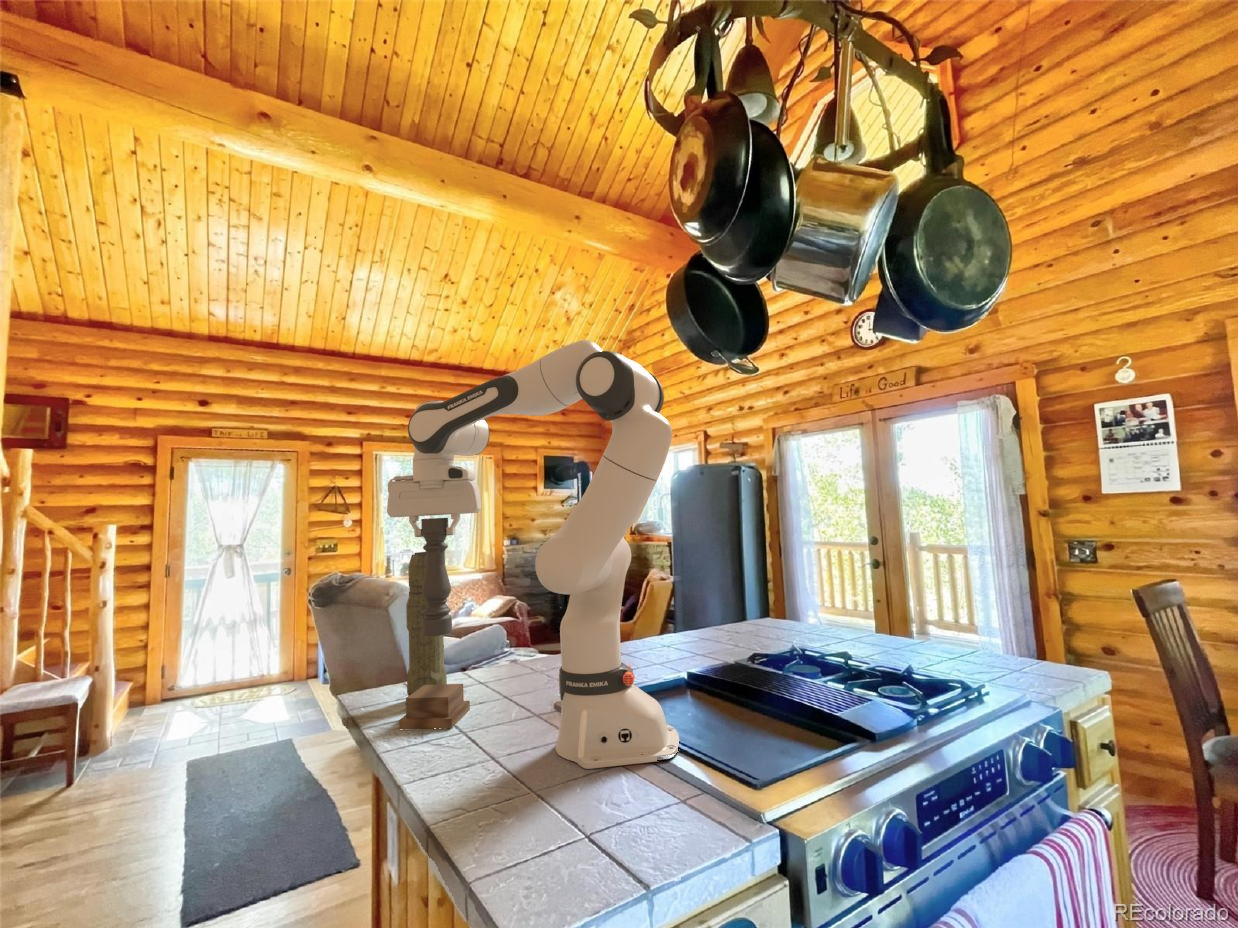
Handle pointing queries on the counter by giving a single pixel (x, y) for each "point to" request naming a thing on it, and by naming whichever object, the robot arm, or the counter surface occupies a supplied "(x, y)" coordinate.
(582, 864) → the counter surface
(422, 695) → the walnut stand
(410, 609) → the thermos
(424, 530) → the candle holder
